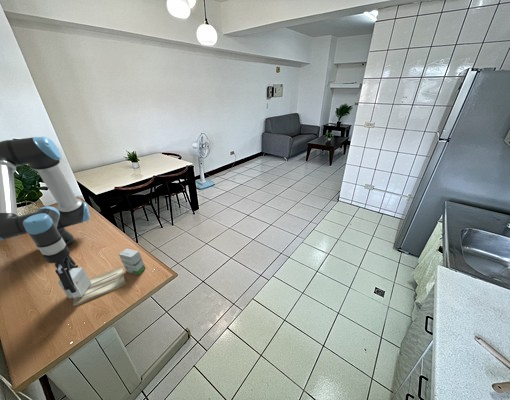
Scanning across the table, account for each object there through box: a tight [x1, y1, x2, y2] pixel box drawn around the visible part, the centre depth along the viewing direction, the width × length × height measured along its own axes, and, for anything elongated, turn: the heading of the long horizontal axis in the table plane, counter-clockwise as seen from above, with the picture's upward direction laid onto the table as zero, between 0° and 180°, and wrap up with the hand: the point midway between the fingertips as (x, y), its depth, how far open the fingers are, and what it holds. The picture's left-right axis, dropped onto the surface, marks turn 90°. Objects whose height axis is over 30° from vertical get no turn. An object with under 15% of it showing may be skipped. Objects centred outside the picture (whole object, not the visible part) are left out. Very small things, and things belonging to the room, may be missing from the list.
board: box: [72, 266, 126, 308], centre depth 102 cm, size 13×20×1 cm, turn 124°
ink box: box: [118, 248, 146, 276], centre depth 107 cm, size 9×5×12 cm, turn 71°
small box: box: [57, 267, 91, 299], centre depth 95 cm, size 8×6×10 cm
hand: (78, 287), depth 97 cm, fingers closed on small box, 9 cm apart
